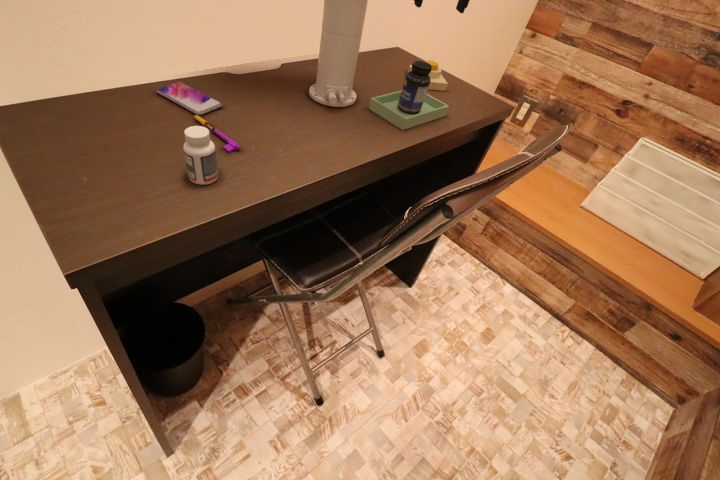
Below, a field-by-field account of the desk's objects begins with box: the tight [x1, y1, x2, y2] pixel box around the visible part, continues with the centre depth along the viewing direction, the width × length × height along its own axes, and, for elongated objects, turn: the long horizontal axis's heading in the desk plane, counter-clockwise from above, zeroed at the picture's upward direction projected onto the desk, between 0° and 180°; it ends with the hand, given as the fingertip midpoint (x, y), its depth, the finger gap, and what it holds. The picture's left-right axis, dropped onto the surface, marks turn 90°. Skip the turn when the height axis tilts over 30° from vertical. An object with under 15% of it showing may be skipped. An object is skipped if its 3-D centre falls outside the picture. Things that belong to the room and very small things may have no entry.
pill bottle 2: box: [398, 60, 432, 114], centre depth 90 cm, size 6×6×11 cm
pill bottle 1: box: [182, 125, 219, 186], centre depth 63 cm, size 5×5×9 cm
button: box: [424, 60, 439, 71], centre depth 108 cm, size 4×4×2 cm
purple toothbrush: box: [193, 114, 241, 153], centre depth 76 cm, size 3×1×16 cm
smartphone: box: [156, 81, 223, 116], centre depth 85 cm, size 7×1×15 cm
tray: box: [368, 90, 450, 131], centre depth 94 cm, size 17×12×3 cm
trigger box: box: [406, 64, 449, 92], centre depth 110 cm, size 12×9×4 cm
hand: (438, 8), depth 78 cm, fingers open, 9 cm apart
